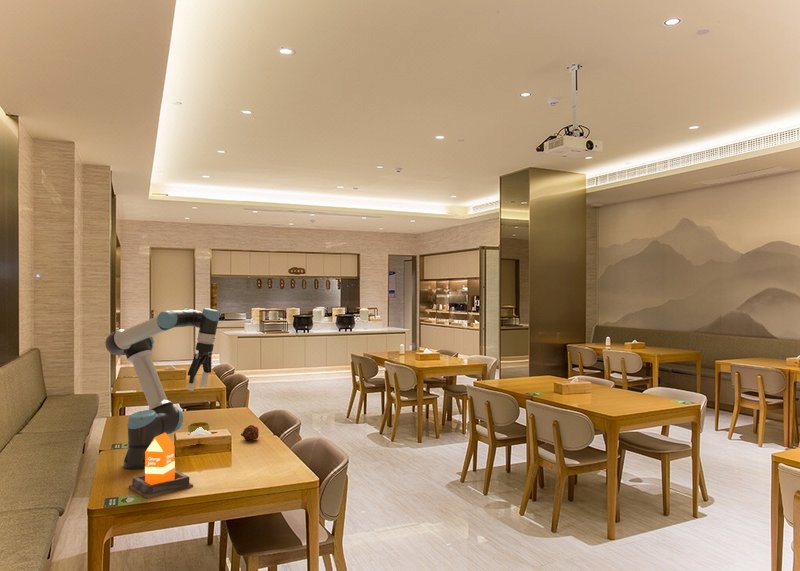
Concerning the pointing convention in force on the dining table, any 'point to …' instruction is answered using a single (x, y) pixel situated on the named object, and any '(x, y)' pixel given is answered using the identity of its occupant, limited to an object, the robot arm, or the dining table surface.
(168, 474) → the orange juice
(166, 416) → the robot arm
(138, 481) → the tray
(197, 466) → the dining table surface
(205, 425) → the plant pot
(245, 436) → the brown bumpy lump
